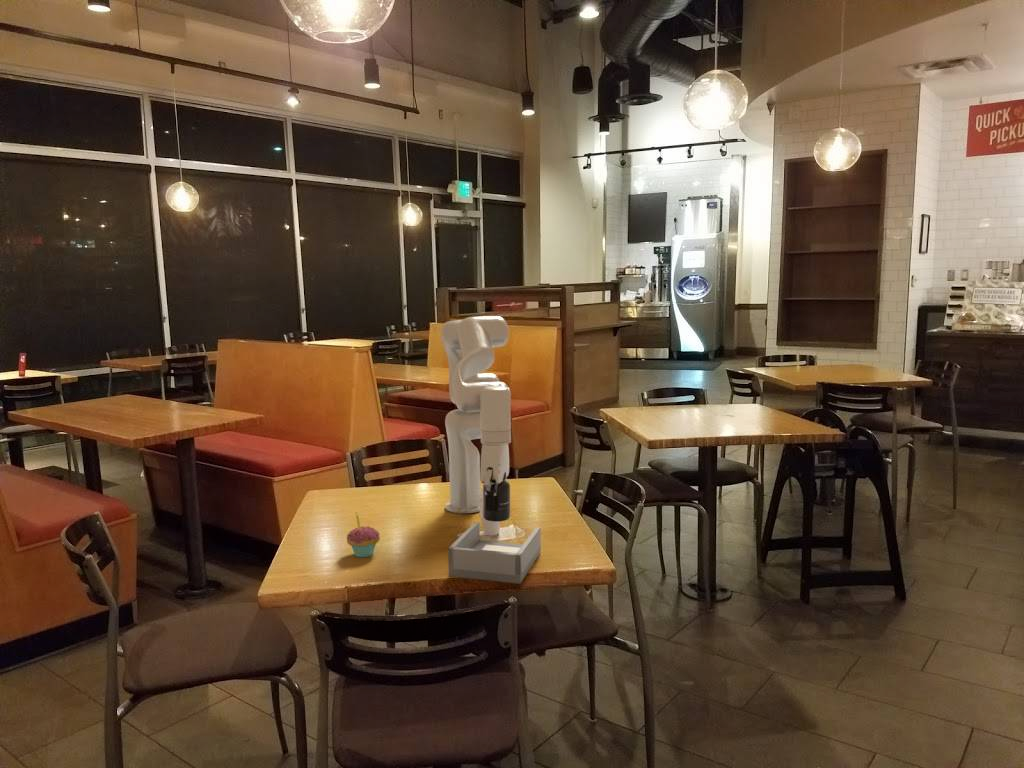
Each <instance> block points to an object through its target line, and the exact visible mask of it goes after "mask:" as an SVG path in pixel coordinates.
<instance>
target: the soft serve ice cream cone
mask: <svg viewBox="0 0 1024 768" xmlns="http://www.w3.org/2000/svg"><path fill="white" fill-rule="evenodd" d="M482 484H483V485H484V483H482ZM483 485H482V486H481V487H480V489H479V490H478V492H477V493H476V495H477V497H476V499H477V500H478V505H479V517H480V522H481V526H482V530H483V534H484V535H485V536H489V537H491V536H492V537H494V536H497V534H498V535H499V534H500V530H501V523H502V521H500V522H493V521H488V520H486V519H485V518H484V517H483Z"/></svg>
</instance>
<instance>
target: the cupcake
mask: <svg viewBox="0 0 1024 768" xmlns="http://www.w3.org/2000/svg"><path fill="white" fill-rule="evenodd" d="M355 518H356V519H355V520H356V524H357V527H355V528H354V529H352V530H350V531H349V532H348V533H347V535H346V543H347V544H348V545H349V546H350V547H351V548H352V551H353V554H354V556H355V557H357V558H367V557H370V556H372V555H373V554H374V551H375V548H376V545H377V544H378V543H379V541H380V539H381V536H380V532H379V531H378V530H376V529H375V528H373V527H370V526H369V525H367V526H361V522H360V515H359V514H358V512H355Z"/></svg>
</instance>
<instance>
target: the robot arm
mask: <svg viewBox="0 0 1024 768" xmlns="http://www.w3.org/2000/svg"><path fill="white" fill-rule="evenodd" d="M440 329H441V330H440V336H441V337H440V339H441V341H442V342H441V343H442V345H443V349H444V350H445V353H446V356H447V360H448V382H449V383H448V388H449V399H450V402H452V403H453V404H454V405H455V406H456V407H457V409H453V410H450V411H449V412H448V413H447V414H446V416H445V419H444V425H445V429H446V430H445V432H446V436H447V442H448V443H447V445H448V460H449V461H448V467H449V501H448V502H446V503H445V505H444V506H445V510H446V511H447V512H450V513H452V514H453V513H454V514H461V515H463V514H465V515H466V514H474V513H480V511H479V505H478V500H477V499H476V497H477V495H476V493H477V492H478V490H479V489H481V484H484V486H485V495H486V510H487V511H498V510H499V495H497V491H498V484H499V483H501V482H502V481H503V477H504V473H505V472H506V479H505V481H507V482H508V479H507V478H508V477H509V473H510V452H509V451H510V449H509V444H511V443H512V431H511V430H512V429H511V428H512V427H511V425H512V421H511V420H512V419H511V418H512V417H511V415H512V414H511V408H512V407H511V399H512V398H511V397H512V396H511V395H512V393H511V389H510V387H508V385H507V383H505V382H503V381H500V378H499V376H498V375H496V374H494V373H491V372H487V373H486V372H485V371H486V370H488V369H489V368H491V367H492V365H493V364H494V362H495V353H494V348H501V347H505V345H507V343H508V342H509V338H510V330H509V326H508V323H507V321H506V320H505V318H503V316H497V315H494V316H492V315H489V316H487V315H485V316H469V317H465V318H463V319H457V320H456V319H455V320H450V321H446V322H444V323H443V324H442V326H441V328H440ZM483 372H484V373H483ZM478 439H480V443H481V453H480V452H479V450H478V448H477V446H475V445H474V443H473V442H472V440H478ZM492 480H493V481H496V482H491V481H492ZM491 485H493V486H495V487H494V488H493V487H491Z"/></svg>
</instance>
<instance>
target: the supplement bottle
mask: <svg viewBox="0 0 1024 768" xmlns="http://www.w3.org/2000/svg"><path fill="white" fill-rule="evenodd" d="M505 479H506V472H505V473H504V477H503V481H502V482H501V483H499V484H498V491H497V495H499V510H498V511H487V510H486V495H485V486H484V485H482V486H483V517H484V518H485V519H486V520H488V521H493V522H500V521H501V522H504V521H507V520H509V519H510V517H511V484H510V483H509V481H508V480H507V481H505ZM491 482H496V481H493V480H492V481H491ZM491 487H493V488H494V487H495V486H493V485H491Z"/></svg>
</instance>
